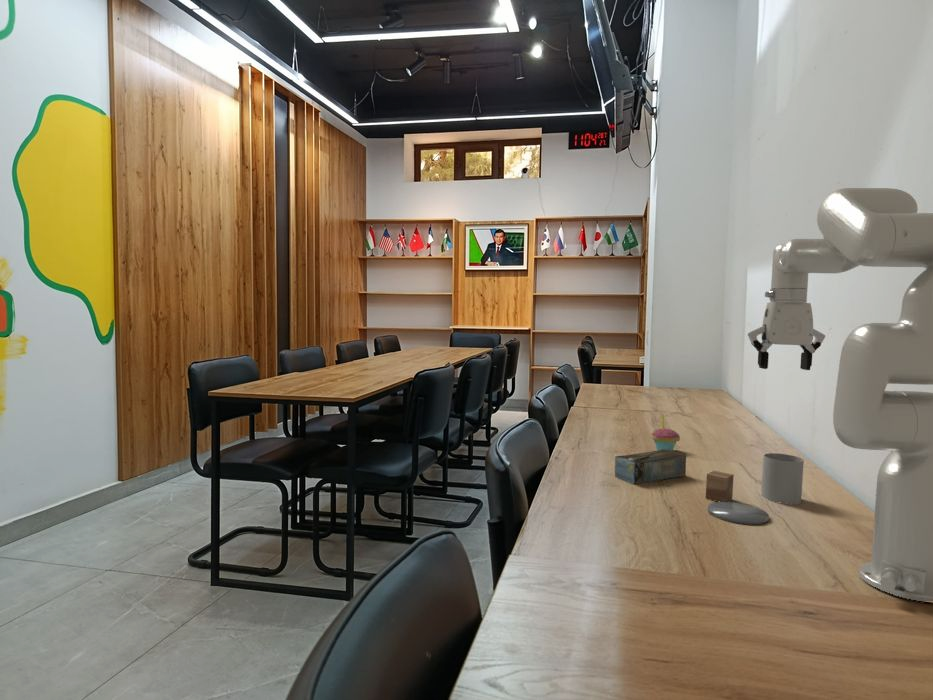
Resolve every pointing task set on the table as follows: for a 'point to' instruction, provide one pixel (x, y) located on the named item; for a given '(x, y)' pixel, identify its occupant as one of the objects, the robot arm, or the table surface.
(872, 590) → the table surface
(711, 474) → the block
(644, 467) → the dark grey rectangular box
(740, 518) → the coaster
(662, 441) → the cupcake
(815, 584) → the table surface
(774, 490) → the cup
